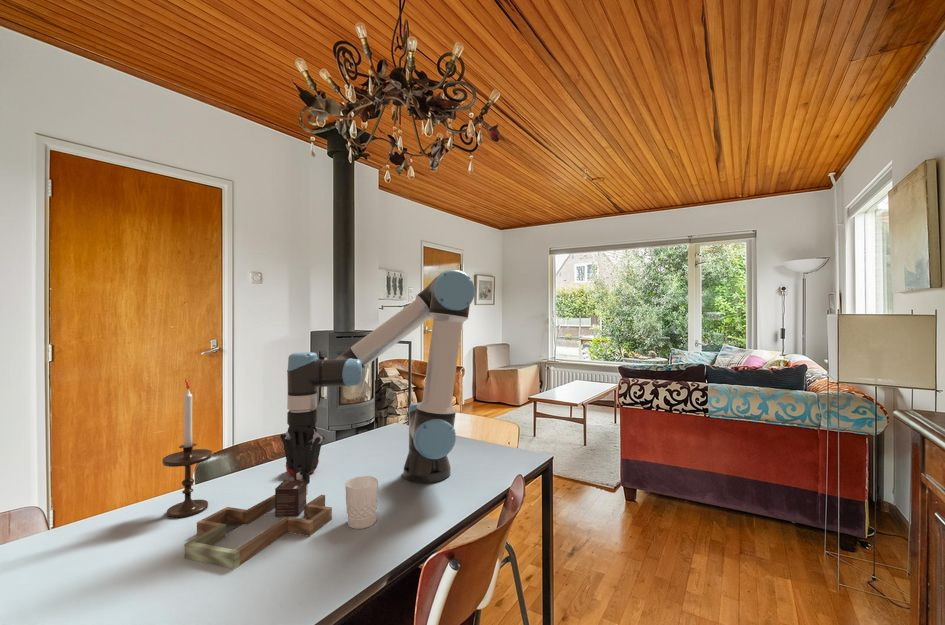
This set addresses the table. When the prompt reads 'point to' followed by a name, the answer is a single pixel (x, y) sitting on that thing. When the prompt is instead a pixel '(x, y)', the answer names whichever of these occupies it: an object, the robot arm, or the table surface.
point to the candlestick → (187, 465)
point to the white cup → (361, 501)
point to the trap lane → (231, 518)
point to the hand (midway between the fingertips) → (302, 496)
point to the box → (290, 498)
